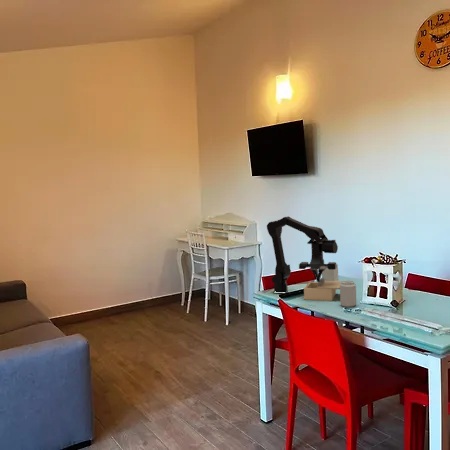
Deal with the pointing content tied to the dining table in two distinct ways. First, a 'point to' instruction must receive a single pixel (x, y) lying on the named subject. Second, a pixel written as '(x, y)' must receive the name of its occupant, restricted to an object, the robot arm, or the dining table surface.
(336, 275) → the supplement box
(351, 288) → the can
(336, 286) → the lid
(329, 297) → the mailer box
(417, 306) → the dining table surface
